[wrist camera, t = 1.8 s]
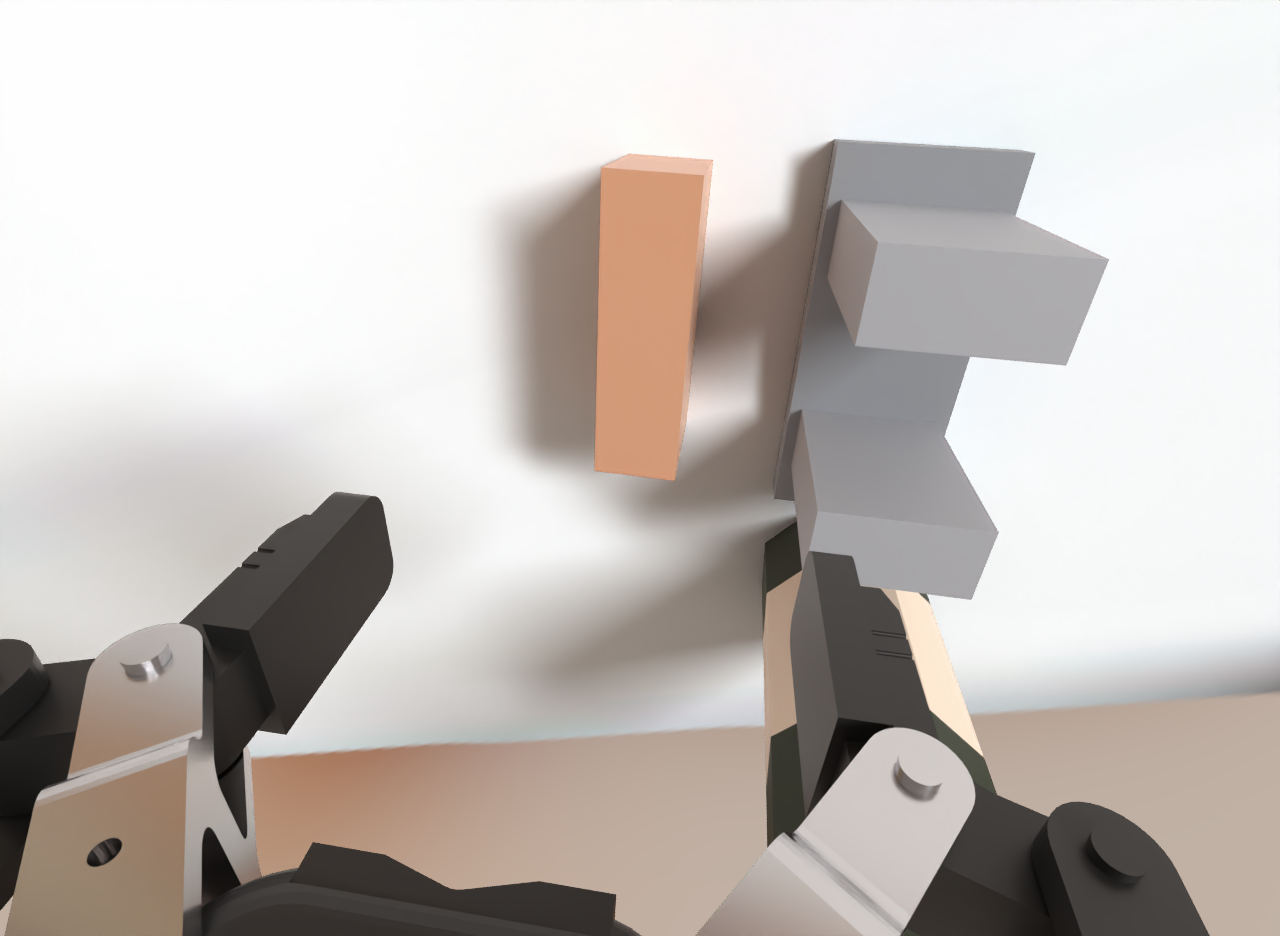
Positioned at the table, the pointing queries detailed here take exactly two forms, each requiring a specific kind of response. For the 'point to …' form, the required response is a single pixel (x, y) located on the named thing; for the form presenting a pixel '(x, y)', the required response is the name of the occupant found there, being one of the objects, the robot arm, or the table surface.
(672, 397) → the rectangular block
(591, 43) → the table surface
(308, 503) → the table surface
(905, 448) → the stand
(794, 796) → the wine bottle
